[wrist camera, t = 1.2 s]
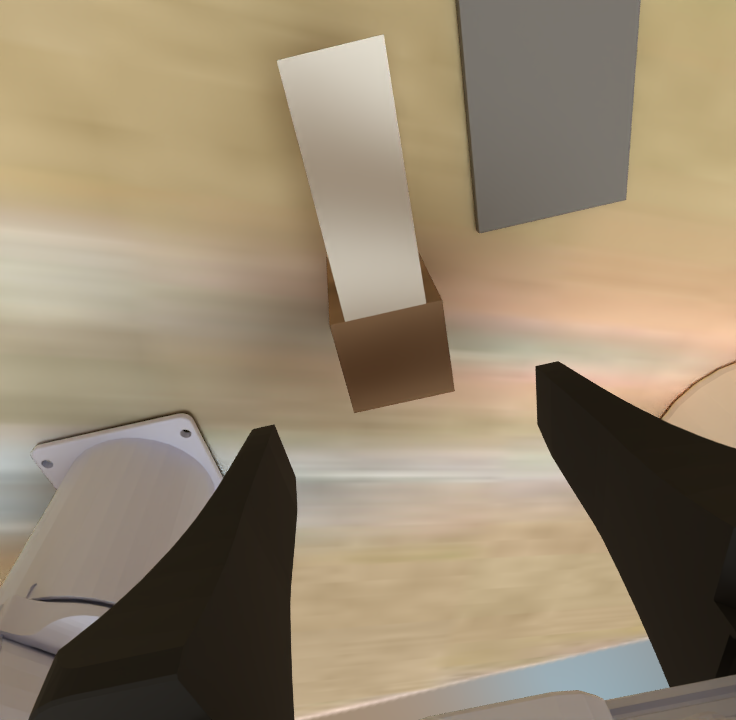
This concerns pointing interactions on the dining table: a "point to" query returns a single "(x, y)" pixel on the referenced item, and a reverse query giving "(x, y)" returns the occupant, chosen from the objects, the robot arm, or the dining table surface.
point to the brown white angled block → (367, 225)
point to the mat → (547, 104)
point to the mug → (708, 407)
